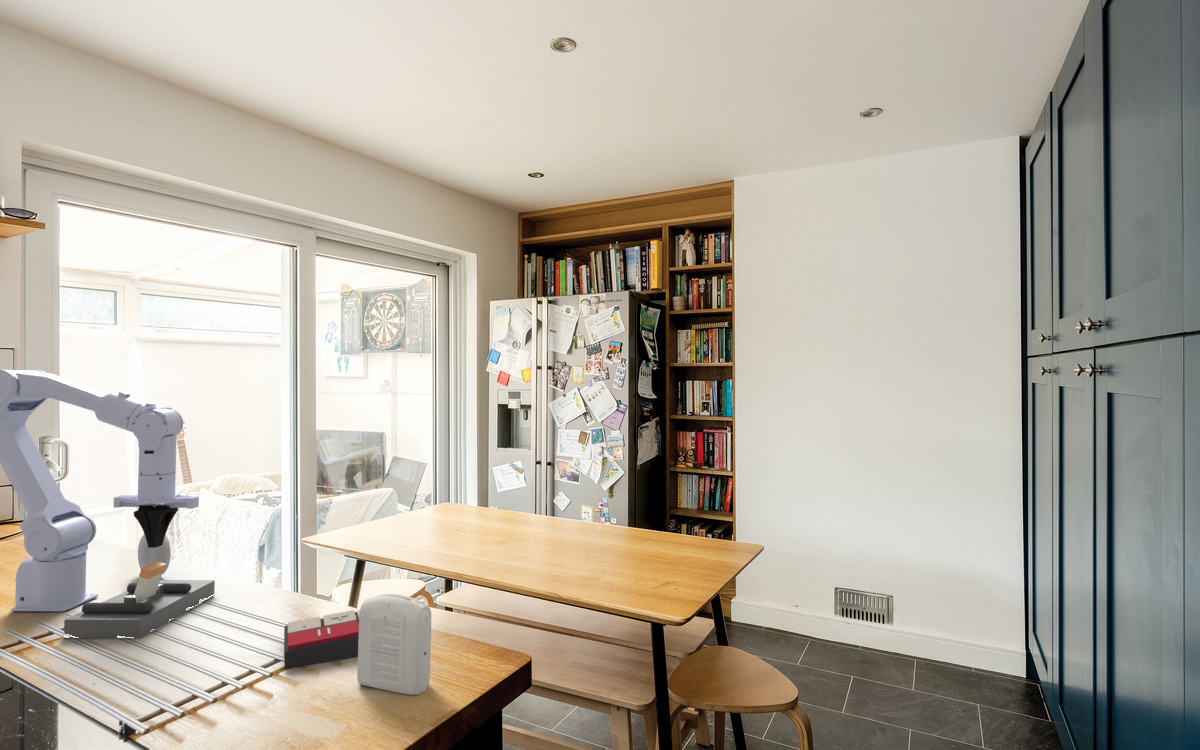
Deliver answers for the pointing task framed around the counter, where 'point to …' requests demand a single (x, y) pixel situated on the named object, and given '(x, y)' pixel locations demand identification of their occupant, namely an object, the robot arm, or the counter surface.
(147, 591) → the lever
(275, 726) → the counter surface
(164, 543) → the donut
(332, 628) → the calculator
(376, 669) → the photo printer
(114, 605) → the box
